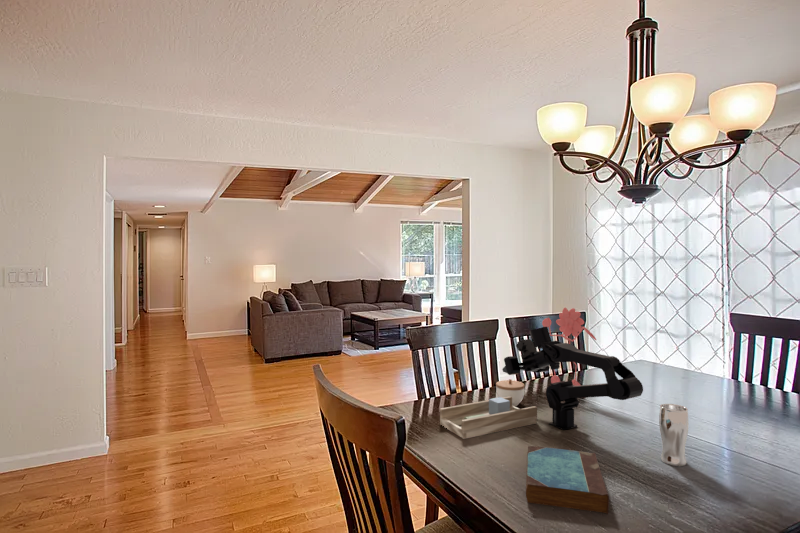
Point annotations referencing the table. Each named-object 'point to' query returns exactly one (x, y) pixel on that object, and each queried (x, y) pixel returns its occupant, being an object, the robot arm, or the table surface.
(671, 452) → the beer glass
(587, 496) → the book
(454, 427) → the tray
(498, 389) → the lidded jar
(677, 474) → the table surface
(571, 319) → the pink branch
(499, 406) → the block
